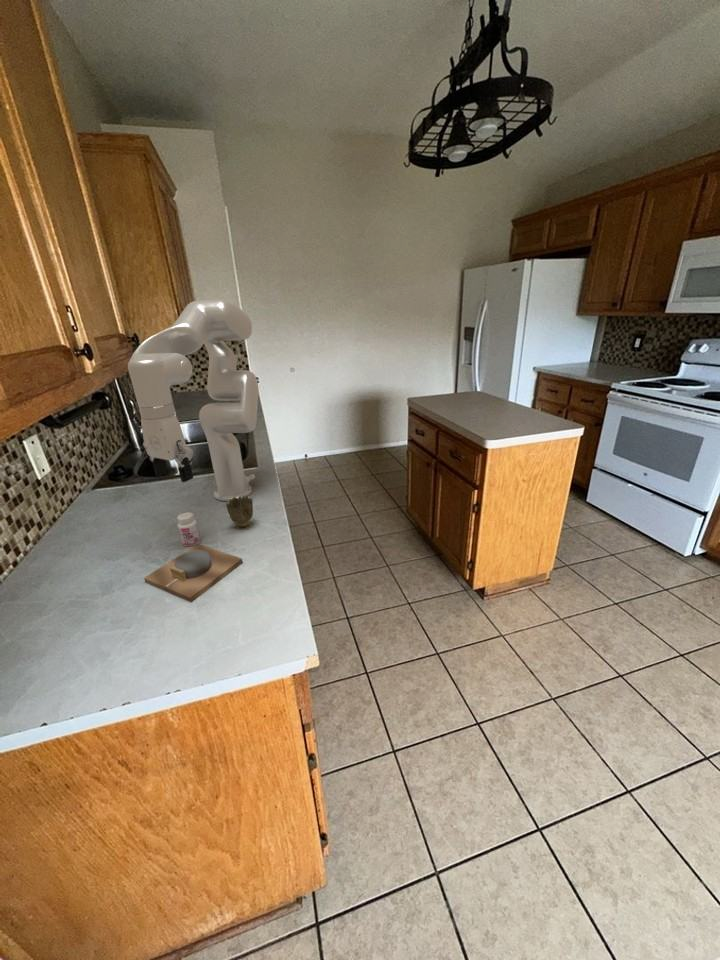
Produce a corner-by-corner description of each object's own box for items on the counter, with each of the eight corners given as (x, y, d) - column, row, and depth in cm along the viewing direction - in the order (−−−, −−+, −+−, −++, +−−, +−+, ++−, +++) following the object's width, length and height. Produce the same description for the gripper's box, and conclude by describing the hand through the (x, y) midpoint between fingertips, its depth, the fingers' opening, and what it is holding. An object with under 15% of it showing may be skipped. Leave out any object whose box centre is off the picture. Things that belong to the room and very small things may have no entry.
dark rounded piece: (249, 533, 112) (244, 508, 109) (225, 531, 114) (220, 506, 111) (260, 520, 119) (256, 496, 116) (238, 518, 121) (233, 495, 117)
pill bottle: (184, 549, 106) (177, 522, 103) (180, 541, 110) (173, 515, 106) (202, 542, 109) (196, 516, 105) (198, 535, 112) (191, 509, 109)
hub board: (198, 547, 107) (195, 535, 105) (242, 562, 100) (240, 550, 98) (145, 582, 94) (141, 569, 92) (191, 602, 87) (187, 588, 85)
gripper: (121, 412, 95) (140, 477, 102) (168, 418, 87) (185, 488, 94) (149, 405, 101) (165, 467, 108) (195, 410, 93) (209, 477, 100)
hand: (174, 477), depth 101 cm, fingers open, 9 cm apart
